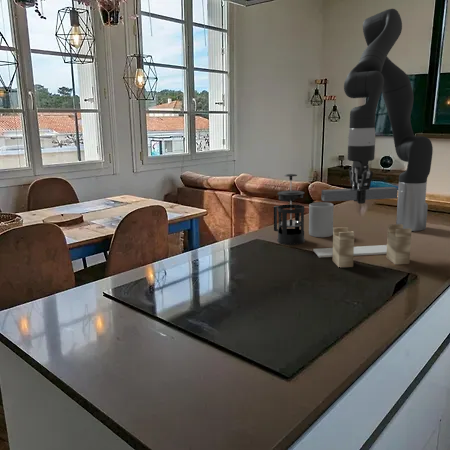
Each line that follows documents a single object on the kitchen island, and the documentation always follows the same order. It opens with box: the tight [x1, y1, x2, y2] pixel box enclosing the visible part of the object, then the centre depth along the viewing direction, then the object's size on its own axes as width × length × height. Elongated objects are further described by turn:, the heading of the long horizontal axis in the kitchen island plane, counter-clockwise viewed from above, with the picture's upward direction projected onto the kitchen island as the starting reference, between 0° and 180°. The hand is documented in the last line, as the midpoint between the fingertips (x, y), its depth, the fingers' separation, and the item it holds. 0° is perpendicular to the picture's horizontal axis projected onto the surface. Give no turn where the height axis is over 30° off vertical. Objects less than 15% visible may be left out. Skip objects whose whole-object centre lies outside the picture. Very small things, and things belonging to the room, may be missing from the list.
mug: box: [308, 201, 335, 238], centre depth 153 cm, size 12×8×11 cm
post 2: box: [385, 223, 412, 265], centre depth 120 cm, size 4×6×10 cm, turn 3°
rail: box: [320, 186, 398, 202], centre depth 127 cm, size 22×3×3 cm, turn 93°
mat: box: [312, 244, 387, 258], centre depth 131 cm, size 26×7×1 cm, turn 93°
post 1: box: [332, 226, 355, 268], centre depth 120 cm, size 4×6×10 cm, turn 3°
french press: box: [273, 173, 306, 246], centre depth 143 cm, size 12×9×23 cm
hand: (359, 201), depth 127 cm, fingers closed on rail, 3 cm apart
